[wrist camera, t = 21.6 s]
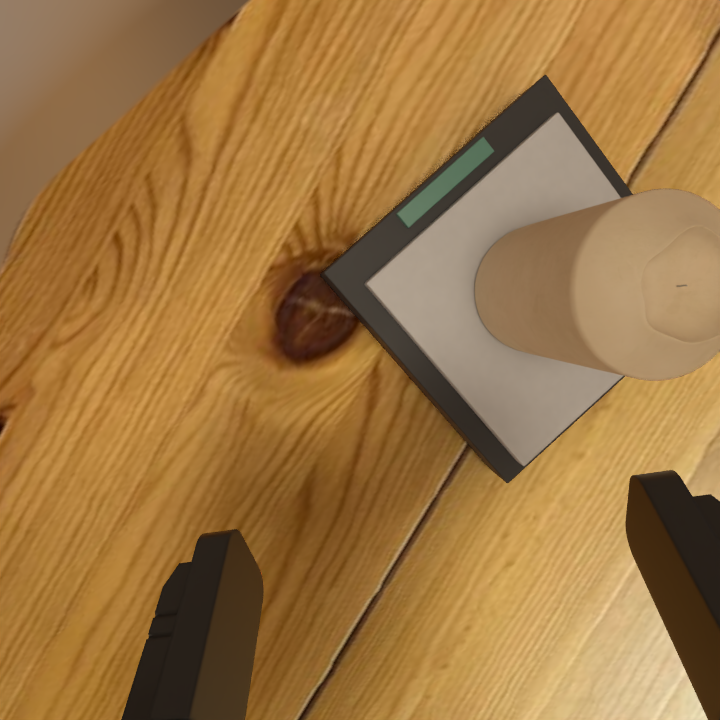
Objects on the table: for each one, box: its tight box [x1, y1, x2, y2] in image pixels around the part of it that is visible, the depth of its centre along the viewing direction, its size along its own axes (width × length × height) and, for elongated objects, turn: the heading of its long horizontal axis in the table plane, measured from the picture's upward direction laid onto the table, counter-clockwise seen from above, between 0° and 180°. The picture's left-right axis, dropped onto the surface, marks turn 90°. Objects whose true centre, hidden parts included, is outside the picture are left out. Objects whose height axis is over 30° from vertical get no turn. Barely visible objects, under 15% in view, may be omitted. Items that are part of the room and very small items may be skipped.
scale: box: [320, 75, 633, 483], centre depth 26 cm, size 13×13×3 cm
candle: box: [475, 189, 720, 381], centre depth 20 cm, size 6×6×10 cm
